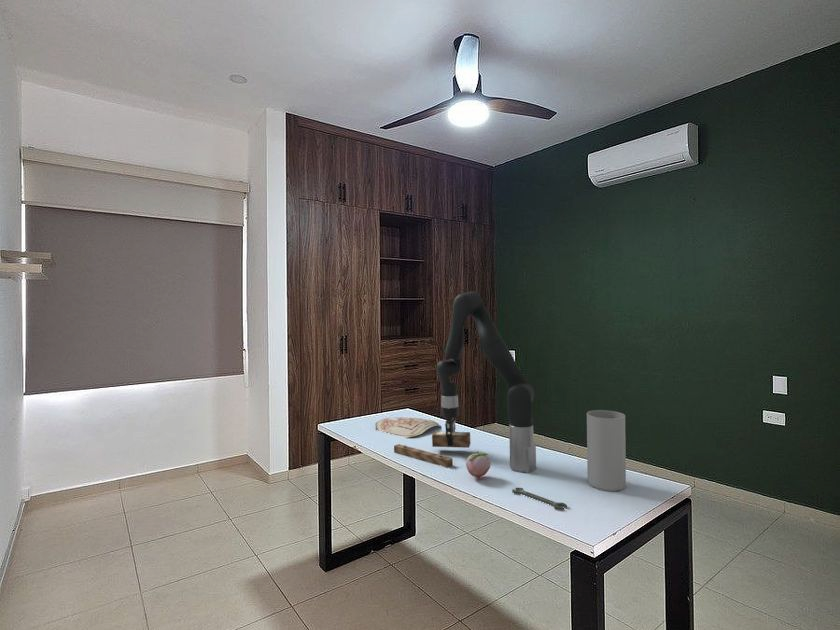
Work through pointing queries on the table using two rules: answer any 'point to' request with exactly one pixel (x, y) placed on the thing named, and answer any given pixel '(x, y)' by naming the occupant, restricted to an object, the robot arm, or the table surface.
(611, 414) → the cylinder vase
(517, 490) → the wrench
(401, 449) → the walnut rail
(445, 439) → the walnut frame
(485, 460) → the decorative fruit
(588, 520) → the table surface
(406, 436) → the poster
